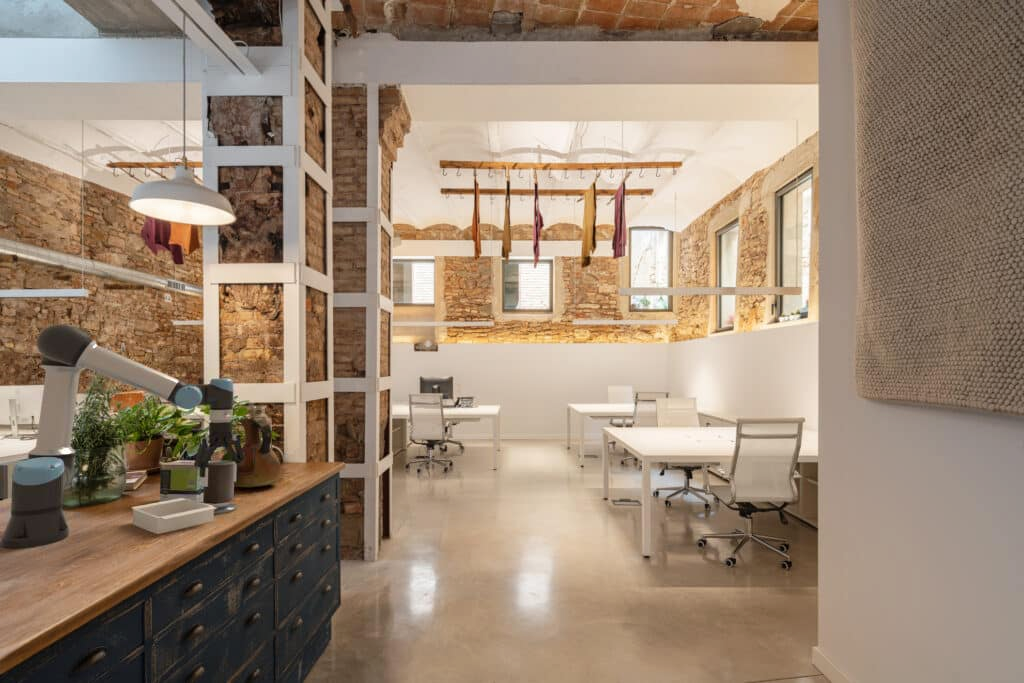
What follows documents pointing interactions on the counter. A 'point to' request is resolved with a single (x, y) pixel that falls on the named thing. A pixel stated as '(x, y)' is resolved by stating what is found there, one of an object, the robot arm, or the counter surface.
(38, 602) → the counter surface
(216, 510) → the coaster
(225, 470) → the pillar candle
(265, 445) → the ceramic pitcher
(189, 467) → the tea box
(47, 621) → the counter surface
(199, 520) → the white rectangular tray
